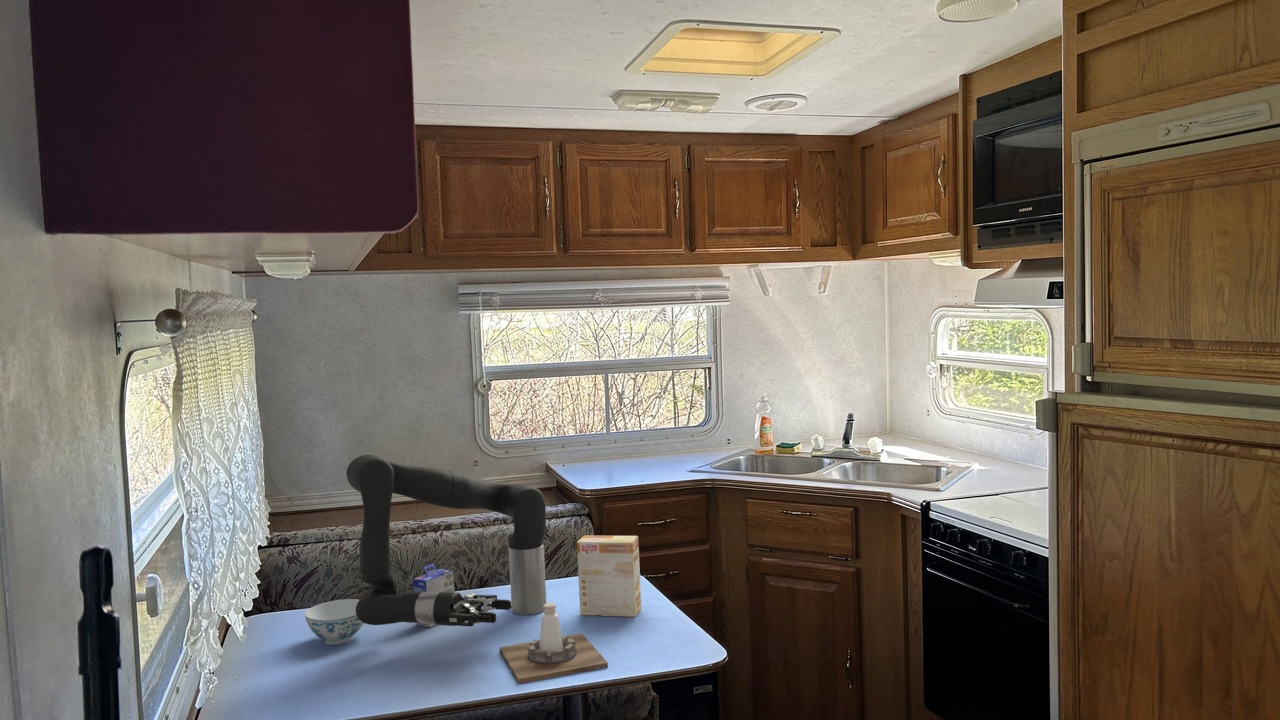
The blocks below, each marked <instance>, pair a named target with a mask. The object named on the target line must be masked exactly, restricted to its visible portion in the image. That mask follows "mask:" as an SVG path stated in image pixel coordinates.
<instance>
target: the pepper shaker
mask: <svg viewBox="0 0 1280 720" xmlns="http://www.w3.org/2000/svg"><path fill="white" fill-rule="evenodd" d="M556 605H557V604H556V603H554V602H546V604H544V605H543V607H544V611H543V614H542V616H541V622H540V623H541V625H540V650H544V651H547V656H551V651H553V650H558V649H562V651H564V649H563V643H562V636H563V635H562V631H561V624H560V623H561V622H560V618H559V615H558V613H556Z"/></svg>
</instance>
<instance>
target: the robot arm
mask: <svg viewBox="0 0 1280 720" xmlns="http://www.w3.org/2000/svg"><path fill="white" fill-rule="evenodd" d="M345 476H346V479H347V481H348V483H349V485H350V486H351V487H352V488H353V489H354V490H355V491H357V492H359V493H360V496H361V500H362V505H363V525H362V530H361V535H360V542H359V551H358V553H359V554H358V555H359V574H360V578H361V581H362V582H364V583H366V584H369V587H370V592H369V593H368V594H365V595H364V596H362V597H361V598H360V599H358V600H359V601H358V603H357V605H356V615H357V617H358V618H359V620H361V621H362V622H363V623H364V624H366V625H371V626H382V625H383V626H384V625H391V624H397V623H411V624H417V623H423V624H428V625H434V626H447V627H449V626H450V627H456V626H457V627H458V626H459V627H474V624H475V625H478V624H480V623H487V624H488V623H489V624H494V623H496V622H497V613H496V612H493V610H498V611H499V610H501V611H510V610H511V612H512V613H514V614H517V615H523V616H525V615H535V614H536V615H537V614H539V613H542V612H544V607H543V605H544V604H546V603H547V590H546V589H547V588H546V587H547V586H546V570H545V568H546V566H545V547H544V546H545V545H544V537H545V534H546V529H547V527H546V526H547V525H546V524H547V521H546V519H547V518H546V516H547V514H546V509H547V508H546V501H545V496H544V494H543V492H542V491H541V490H540V489H538V488H536V487H535V486H530V485H526V484H523V483H506V482H496V481H488V480H485V479H483V478H480V477H479V476H475V475H472V474H468V473H464V472H460V471H456V470H449V469H446V468H445V469H444V468H437V467H429V466H428V467H427V466H416V465H415V466H414V465H406V464H402V463H398V462H395V461H392V460H391V461H390V460H387V459H385V458H383V457H380V456H377V455H374V454H363V455H359V456H357V457H355V458H354V459H353V460H351V462H350V463H348V465H347V468H346V475H345ZM393 494H395V495H400V496H403V497H406V498H410V499H413V500H416V501H419V502H422V503H424V504H429V505H432V506H437V507H442V508H448V509H455V510H478V509H479V510H481V509H482V510H487V511H491V512H495V513H498V514H502V515H505V516H508V517H510V518H513V522H514V523H513V533H511V534H510V535H509V536H508V538H507V542H508V543H507V544H508V547H507V548H508V561H509V562H508V564H509V581H510V583H509V584H510V599H500V598H499V599H498V595H496V594H493V595H492V594H476V595H474V596H473V598H471V599H467V600H465V599H463V597H464V596H463V595H462V594H461V593H459V592H455V591H454V592H414V591H406V592H402V593H399V594H398V591H397V588H396V584H395V581H394V578H393V575H392V574H393V573H392V572H391V547H390V546H391V545H390V530H391V529H390V526H391V525H390V523H391V522H390V521H391V507H392V498H393ZM489 611H490V612H489Z"/></svg>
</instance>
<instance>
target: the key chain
mask: <svg viewBox="0 0 1280 720" xmlns="http://www.w3.org/2000/svg"><path fill="white" fill-rule="evenodd" d="M474 595H477V594H475V593H468V594H466V595H464V596H462V597H463V599H464V600H467V599H471V598H473V596H474Z"/></svg>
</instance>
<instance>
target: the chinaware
mask: <svg viewBox="0 0 1280 720" xmlns="http://www.w3.org/2000/svg"><path fill="white" fill-rule="evenodd" d="M359 600H360V599H356V598H355V599H348V598H347V599H336V600H331V601H327V602H323V603H320V604H316V605H314V606H312V607H310V608H308V609H307V610H305V612H304V618H305V621H306V623H307V625H308V627H309V629H310V630H311V632H312V633H314V635H315V636H316V637H318V638H320V639H322V640H324V643H325V644H327V645H333V646H334V645H341V644H346V643H349V642H350V641H352V640H353V639H354V636H355V634H356V633H358V632H359V631H360V630H361V628H362V627H363V625H364V624H365V623H363V622H362V621H361V620H359V618H358V617H357V615H356V605H357V603H358V601H359Z"/></svg>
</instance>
